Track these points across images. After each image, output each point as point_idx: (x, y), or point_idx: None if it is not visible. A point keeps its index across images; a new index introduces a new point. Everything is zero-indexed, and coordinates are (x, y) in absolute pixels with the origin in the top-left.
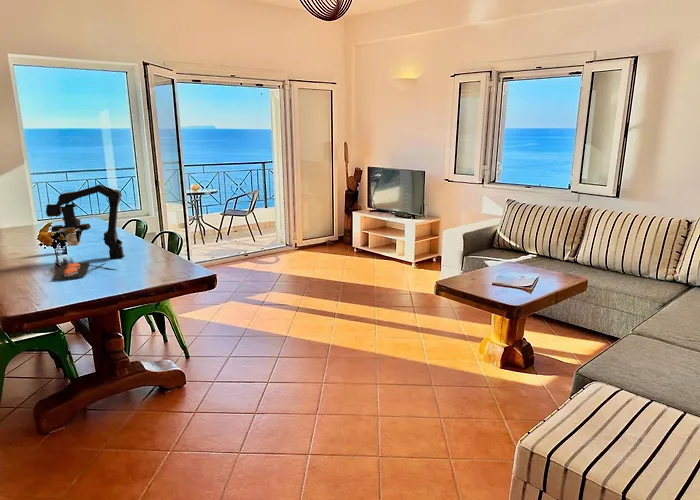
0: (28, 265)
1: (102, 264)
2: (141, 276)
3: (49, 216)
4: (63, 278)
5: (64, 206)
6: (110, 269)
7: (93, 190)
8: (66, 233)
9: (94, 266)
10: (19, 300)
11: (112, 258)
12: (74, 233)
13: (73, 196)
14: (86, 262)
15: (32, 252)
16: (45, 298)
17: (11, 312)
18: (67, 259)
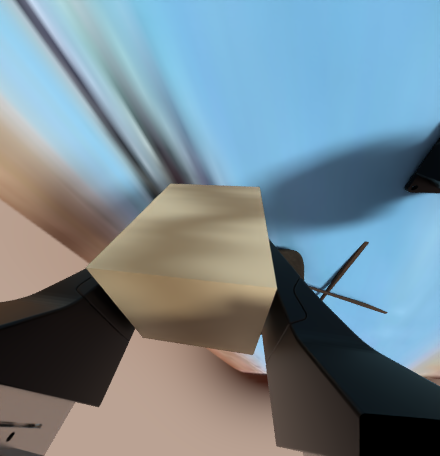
0: (64, 199)
1: (349, 265)
2: (420, 350)
3: None
4: (261, 334)
5: None
6: (365, 306)
7: None
8: (96, 331)
9: (321, 291)
10: (229, 356)
11: (421, 192)
12: (185, 283)
13: None
14: (290, 252)
15: None
16: (258, 360)
17: (239, 369)
18: (159, 126)
